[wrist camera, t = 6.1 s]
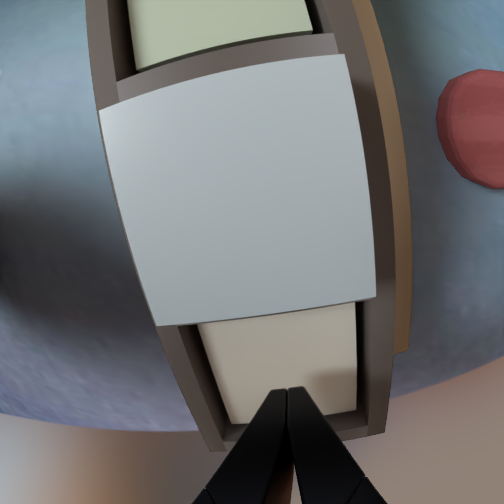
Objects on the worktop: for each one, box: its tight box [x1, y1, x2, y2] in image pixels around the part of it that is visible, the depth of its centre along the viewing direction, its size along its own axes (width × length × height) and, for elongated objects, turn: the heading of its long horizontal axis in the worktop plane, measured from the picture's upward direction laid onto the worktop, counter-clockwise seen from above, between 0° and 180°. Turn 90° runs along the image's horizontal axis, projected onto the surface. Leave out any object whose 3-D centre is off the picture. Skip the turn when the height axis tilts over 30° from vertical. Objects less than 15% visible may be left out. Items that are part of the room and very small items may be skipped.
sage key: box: [127, 0, 313, 72], centre depth 7 cm, size 4×4×3 cm
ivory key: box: [197, 302, 357, 424], centre depth 10 cm, size 4×4×3 cm
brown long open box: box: [85, 0, 412, 452], centre depth 8 cm, size 10×21×6 cm, turn 11°
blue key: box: [99, 54, 376, 326], centre depth 6 cm, size 4×4×3 cm
